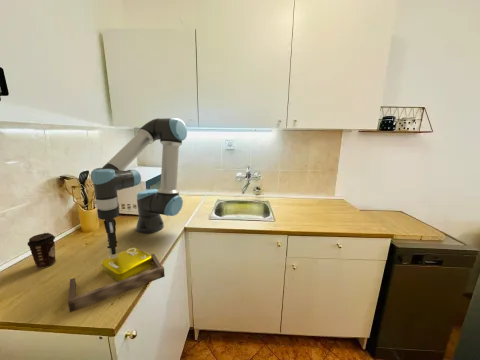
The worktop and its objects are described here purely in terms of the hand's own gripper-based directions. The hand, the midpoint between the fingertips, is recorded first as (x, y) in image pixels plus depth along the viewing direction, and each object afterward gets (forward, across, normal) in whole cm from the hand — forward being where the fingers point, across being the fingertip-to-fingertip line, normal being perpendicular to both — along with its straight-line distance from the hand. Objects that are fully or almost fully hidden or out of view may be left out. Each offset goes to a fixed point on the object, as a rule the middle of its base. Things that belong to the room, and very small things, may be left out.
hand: (114, 259), depth 91 cm
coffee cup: (+3, -18, -24) cm, 30 cm away
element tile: (+4, +4, +4) cm, 7 cm away
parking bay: (+3, +12, 0) cm, 12 cm away
